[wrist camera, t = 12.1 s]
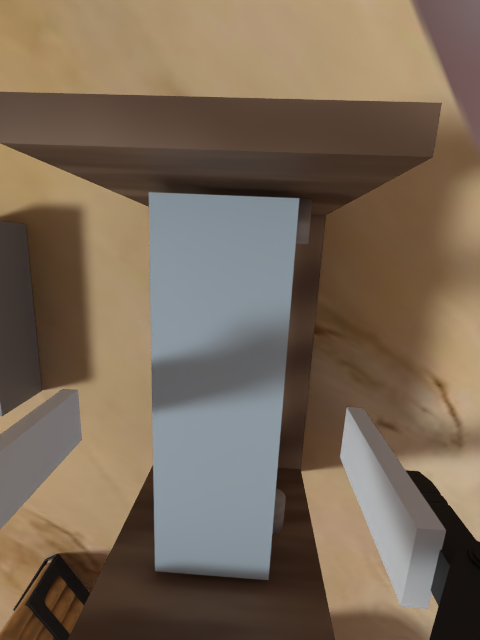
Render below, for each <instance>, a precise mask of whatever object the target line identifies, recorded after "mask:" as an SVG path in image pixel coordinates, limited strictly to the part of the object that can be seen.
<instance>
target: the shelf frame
mask: <svg viewBox="0 0 480 640" xmlns="http://www.w3.org/2000/svg"><path fill="white" fill-rule="evenodd" d="M441 104H442V103H423V102H383V101H344V100H304V99H264V98H224V97H184V96H145V95H105V94H65V93H25V92H0V143H1V144H3V145H6V146H8V147H10V148H13V149H15V150H17V151H20V152H22V153H24V154H27V155H29V156H31V157H34V158H36V159H38V160H41V161H43V162H45V163H48V164H50V165H52V166H55V167H57V168H60V169H62V170H64V171H67V172H69V173H71V174H74V175H76V176H78V177H81V178H83V179H85V180H88V181H90V182H92V183H95V184H97V185H99V186H102V187H104V188H106V189H109V190H111V191H113V192H116V193H118V194H120V195H123V196H125V197H128V198H130V199H132V200H135V201H137V202H139V203H142V204H144V205H146V206H149V192H154V193H179V194H204V195H228V196H253V197H278V198H299V209H298V221H297V233H296V246H295V258H294V271H293V283H292V295H291V308H290V320H289V332H288V345H287V357H286V370H285V382H284V394H283V407H282V419H281V432H280V444H279V456H278V469H277V481H276V493H275V506H274V518H273V531H272V543H271V555H270V568H269V580H260V579H247V578H235V577H222V576H209V575H197V574H184V573H171V572H158V571H155V541H154V481H153V466H152V468H151V470H150V472H149V474H148V476H147V478H146V481H145V483H144V485H143V487H142V489H141V491H140V493H139V495H138V497H137V499H136V501H135V503H134V505H133V507H132V509H131V511H130V513H129V515H128V517H127V519H126V521H125V523H124V526H123V528H122V530H121V532H120V534H119V536H118V538H117V540H116V542H115V544H114V546H113V548H112V550H111V552H110V554H109V556H108V558H107V560H106V562H105V564H104V566H103V568H102V571H101V573H100V575H99V577H98V579H97V581H96V583H95V585H94V587H93V589H92V591H91V593H90V595H89V597H88V599H87V601H86V603H85V605H84V607H83V609H82V611H81V613H80V616H79V618H78V620H77V622H76V624H75V626H74V628H73V630H72V632H71V634H70V636H69V638H68V640H335V638H334V633H333V628H332V623H331V618H330V613H329V608H328V603H327V598H326V593H325V588H324V583H323V578H322V573H321V568H320V563H319V558H318V553H317V548H316V543H315V538H314V533H313V528H312V524H311V519H310V514H309V509H308V504H307V499H306V494H305V489H304V484H303V479H302V474H301V460H302V450H303V440H304V430H305V419H306V409H307V399H308V389H309V379H310V369H311V359H312V349H313V339H314V329H315V318H316V308H317V298H318V288H319V278H320V268H321V258H322V248H323V238H324V228H325V217H326V215H327V214H329V213H331V212H333V211H334V210H336V209H338V208H340V207H342V206H344V205H346V204H347V203H349V202H351V201H353V200H355V199H357V198H358V197H360V196H362V195H364V194H366V193H368V192H369V191H371V190H373V189H375V188H377V187H379V186H380V185H382V184H384V183H386V182H388V181H390V180H392V179H393V178H395V177H397V176H399V175H401V174H403V173H404V172H406V171H408V170H410V169H412V168H414V167H415V166H417V165H419V164H421V163H423V162H425V161H427V160H428V159H430V158H432V157H433V153H434V147H435V141H436V135H437V129H438V122H439V116H440V110H441Z"/></svg>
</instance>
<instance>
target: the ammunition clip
mask: <svg viewBox="0 0 480 640" xmlns="http://www.w3.org/2000/svg"><path fill="white" fill-rule="evenodd" d="M89 595H90V593H89V592H88V591H87V589H86V588H85V587H84V585H83V584H82V583H81V582H80V580H79V579H78V578H77V577H76V575H75V574H74V573H73V572H72V570H71V569H70V568H69V566H68V565H67V564H66V563H65V561H64V560H63V559H62V558H61V556H60V555H59V554H58V555H57V554H56V555H54V556H52V557H50V558H48V559H45V561H44V562H43V564H42V565H41V567H40V568H39V570H38V572H37V573H36V575H35V576H34V578H33V579H32V581H31V583H30V584H29V586H28V587H27V589H26V591H25V592H24V594H23V595H22V597H21V598H20V600H19V602H18V603H17V605H16V606H15V608H14V609H13V610H14V613H13V614H12V616H11V617H10V619H9V620H8V622H7V623H6V625H5V626H4V628H3V629H2V631H1V632H0V640H68V638H69V636H70V634H71V632H72V630H73V628H74V626H75V624H76V622H77V620H78V618H79V616H80V613H81V611H82V609H83V607H84V605H85V603H86V601H87V599H88V597H89Z"/></svg>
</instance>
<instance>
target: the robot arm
mask: <svg viewBox="0 0 480 640" xmlns="http://www.w3.org/2000/svg"><path fill="white" fill-rule="evenodd" d="M81 440H82V436H81V423H80V411H79V398H78V390H70V389H62V390H61V391H59V392H58V393H57V394H55V395H54V396H52V397H51V398H50V399H48V400H47V401H46V402H44V403H43V404H41V405H40V406H39V407H37V408H36V409H35V410H33V411H32V412H30V413H29V414H28V415H26V416H25V417H24V418H22V419H21V420H20V421H18V422H17V423H15V424H14V425H13V426H11V427H10V428H9V429H7V430H6V431H4V432H3V433H2V434H0V529H1V528H2V527H3V526H4V525H5V524H6V522H7V521H8V520H9V519H10V518H11V517H12V516H13V515H14V514H15V513H16V511H17V510H18V509H19V508H20V507H21V506H22V505H23V504H24V503H25V502H26V500H27V499H28V498H29V497H30V496H31V495H32V494H33V493H34V492H35V491H36V489H37V488H38V487H39V486H40V485H41V484H42V483H43V482H44V481H45V480H46V478H47V477H48V476H49V475H50V474H51V473H52V472H53V471H54V470H55V469H56V467H57V466H58V465H59V464H60V463H61V462H62V461H63V460H64V459H65V458H66V456H67V455H68V454H69V453H70V452H71V451H72V450H73V449H74V448H75V447H76V445H77V444H78V443H79V442H80V441H81ZM340 458H341V461H342V463H343V466H344V468H345V471H346V473H347V476H348V478H349V481H350V483H351V485H352V488H353V490H354V493H355V495H356V498H357V500H358V503H359V505H360V507H361V510H362V512H363V515H364V517H365V520H366V522H367V525H368V527H369V529H370V532H371V534H372V537H373V539H374V542H375V544H376V547H377V549H378V552H379V554H380V556H381V559H382V561H383V564H384V566H385V569H386V571H387V574H388V576H389V578H390V581H391V583H392V586H393V588H394V591H395V593H396V596H397V598H398V601H399V603H400V605H401V606H402V607H413V608H425V609H428V606H429V602H430V597H431V593H432V594H433V596H434V598H435V600H436V602H437V604H438V606H439V607H438V611H437V615H436V618H435V622H434V625H433V629H432V633H431V636H430V640H480V542H478V541H476V540H475V538H474V537H473V536H472V534H471V533H470V532H469V530H468V529H467V528H466V526H465V525H464V524H463V522H462V521H461V520H460V518H459V517H458V516H457V514H456V513H455V512H454V511H453V509H452V508H451V507H450V505H448V503H447V501H446V500H445V499H444V497H443V496H441V495H440V492H439V491H438V489H437V488H436V487H435V485H434V484H433V483H432V482H431V481H430V480H429V479H428V478H426V477H425V476H424V475H423V474H421V473H420V472H419V471H407V470H405V469H404V468H403V466H402V465H401V463H400V462H399V460H398V459H397V457H396V456H395V454H394V453H393V451H392V450H391V448H390V447H389V446H388V444H387V443H386V441H385V440H384V438H383V437H382V435H381V434H380V432H379V431H378V429H377V428H376V426H375V425H374V423H373V422H372V420H371V419H370V418H369V416H368V415H367V413H366V412H365V410H364V409H363V408H356V407H347V409H346V417H345V424H344V432H343V439H342V447H341V454H340Z"/></svg>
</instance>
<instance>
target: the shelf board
mask: <svg viewBox="0 0 480 640" xmlns="http://www.w3.org/2000/svg"><path fill="white" fill-rule="evenodd" d="M298 209H299V198H278V197H253V196H228V195H204V194H179V193H154V192H149V241H150V301H151V361H152V421H153V481H154V541H155V571H158V572H171V573H184V574H197V575H209V576H222V577H235V578H247V579H260V580H269V568H270V555H271V543H272V531H273V518H274V506H275V493H276V481H277V469H278V456H279V444H280V432H281V419H282V407H283V394H284V382H285V370H286V357H287V345H288V332H289V320H290V308H291V295H292V283H293V271H294V258H295V246H296V233H297V221H298Z"/></svg>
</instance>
